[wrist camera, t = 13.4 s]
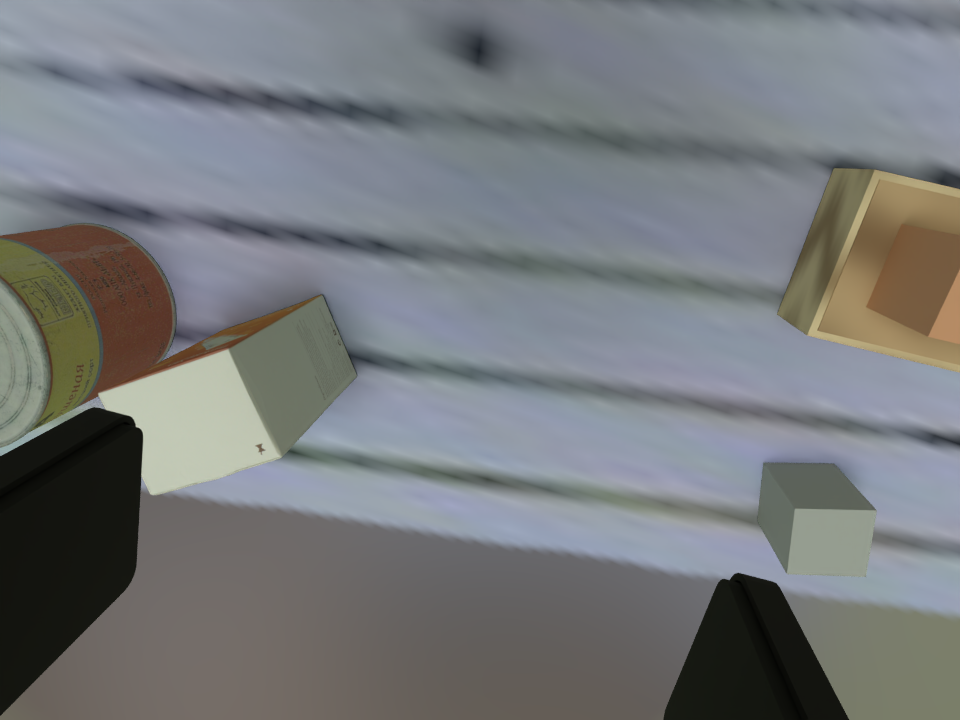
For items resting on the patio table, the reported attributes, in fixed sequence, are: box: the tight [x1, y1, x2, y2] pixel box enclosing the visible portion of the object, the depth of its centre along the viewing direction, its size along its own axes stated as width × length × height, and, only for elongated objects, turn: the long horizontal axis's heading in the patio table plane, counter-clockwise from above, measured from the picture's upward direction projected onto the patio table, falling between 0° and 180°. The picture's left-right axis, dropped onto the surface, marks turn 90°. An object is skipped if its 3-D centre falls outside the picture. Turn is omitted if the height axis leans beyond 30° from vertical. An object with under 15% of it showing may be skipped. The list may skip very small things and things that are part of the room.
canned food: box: [0, 223, 176, 448], centre depth 39 cm, size 11×11×12 cm
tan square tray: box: [777, 168, 960, 372], centre depth 36 cm, size 9×9×5 cm
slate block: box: [757, 463, 877, 577], centre depth 41 cm, size 4×4×6 cm
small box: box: [98, 295, 357, 495], centre depth 38 cm, size 8×6×13 cm
